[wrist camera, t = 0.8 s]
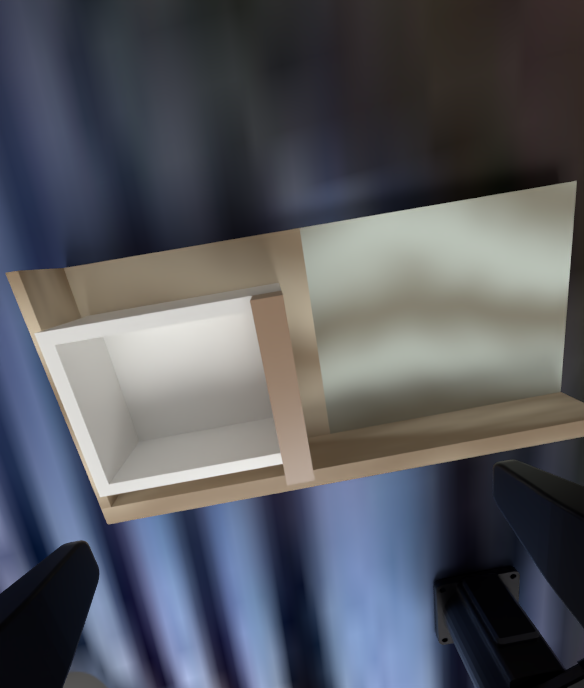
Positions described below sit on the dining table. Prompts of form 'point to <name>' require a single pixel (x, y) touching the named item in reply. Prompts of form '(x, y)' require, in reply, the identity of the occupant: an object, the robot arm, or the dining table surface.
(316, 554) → the dining table surface
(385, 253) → the beige shallow tray
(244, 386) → the drawer
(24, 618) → the robot arm
